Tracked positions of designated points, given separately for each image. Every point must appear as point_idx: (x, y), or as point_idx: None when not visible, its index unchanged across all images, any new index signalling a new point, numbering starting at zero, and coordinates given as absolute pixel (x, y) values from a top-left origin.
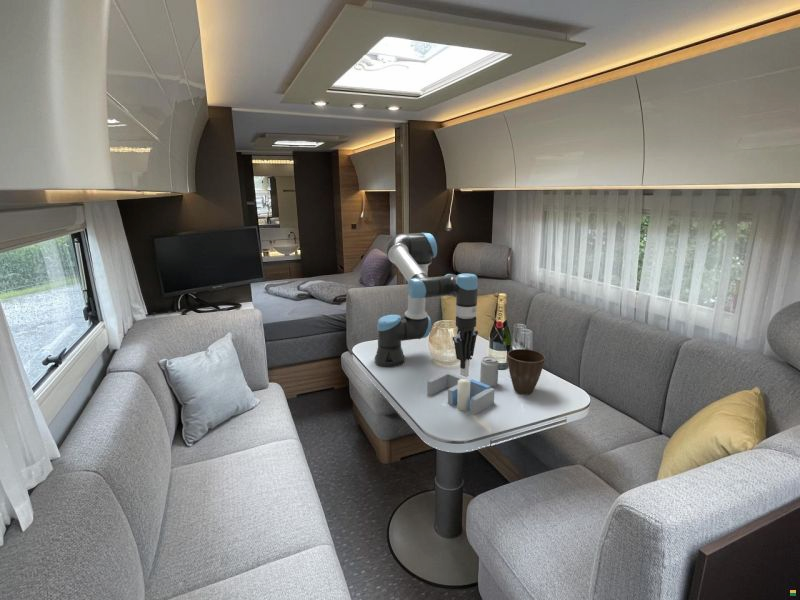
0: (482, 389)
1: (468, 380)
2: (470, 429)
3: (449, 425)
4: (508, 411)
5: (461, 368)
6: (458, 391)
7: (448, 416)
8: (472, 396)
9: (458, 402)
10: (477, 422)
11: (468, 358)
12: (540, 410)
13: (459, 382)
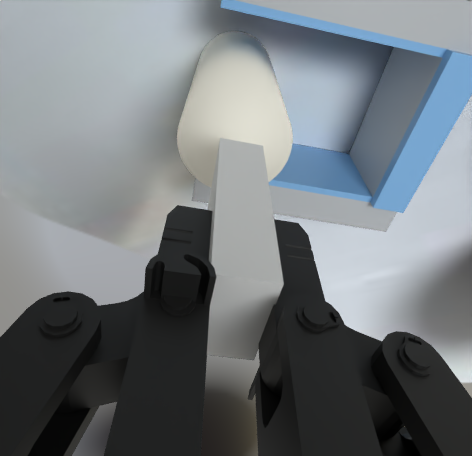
0: (380, 162)
1: (275, 165)
2: (77, 188)
3: (22, 94)
4: None
5: (215, 190)
6: (191, 85)
7: (88, 43)
8: (388, 63)
9: (197, 65)
10: (147, 190)
11: (258, 371)
12: (366, 321)
13: (191, 117)
